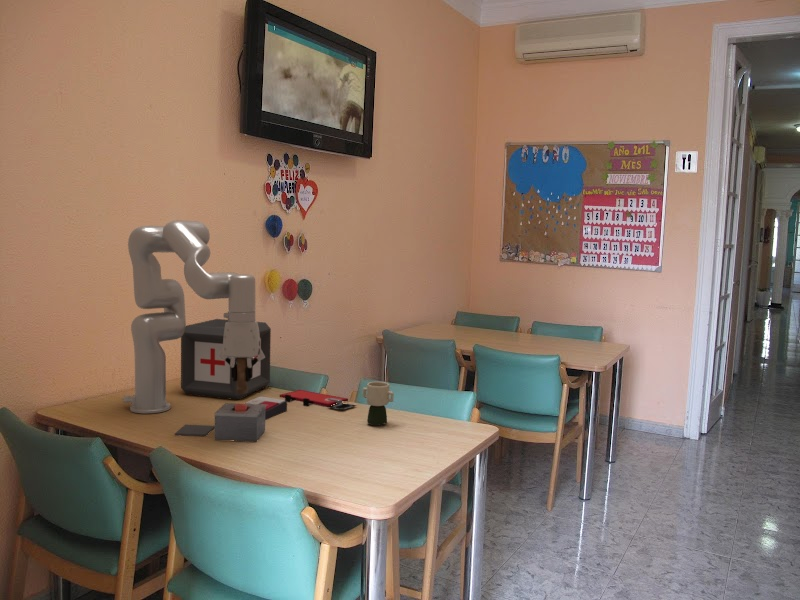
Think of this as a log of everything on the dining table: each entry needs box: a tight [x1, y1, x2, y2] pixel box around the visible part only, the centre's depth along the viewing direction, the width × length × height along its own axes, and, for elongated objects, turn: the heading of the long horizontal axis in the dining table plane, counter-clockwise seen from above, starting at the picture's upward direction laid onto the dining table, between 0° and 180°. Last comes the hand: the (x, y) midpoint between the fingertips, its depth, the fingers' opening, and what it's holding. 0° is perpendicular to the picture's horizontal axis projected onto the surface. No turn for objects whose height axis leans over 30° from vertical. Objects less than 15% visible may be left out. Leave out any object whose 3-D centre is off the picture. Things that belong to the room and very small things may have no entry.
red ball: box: [235, 403, 247, 411], centre depth 198 cm, size 3×3×3 cm
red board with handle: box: [279, 389, 358, 410], centre depth 241 cm, size 30×3×15 cm
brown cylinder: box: [237, 358, 247, 394], centre depth 197 cm, size 3×3×12 cm
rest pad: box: [174, 424, 215, 437], centre depth 201 cm, size 9×9×1 cm
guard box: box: [214, 402, 266, 443], centre depth 198 cm, size 12×11×8 cm
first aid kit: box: [180, 318, 272, 400], centre depth 251 cm, size 25×25×25 cm
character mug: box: [362, 381, 394, 426], centre depth 214 cm, size 11×7×13 cm, turn 63°
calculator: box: [242, 396, 288, 421], centre depth 223 cm, size 11×4×15 cm
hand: (242, 379), depth 197 cm, fingers closed on brown cylinder, 3 cm apart
